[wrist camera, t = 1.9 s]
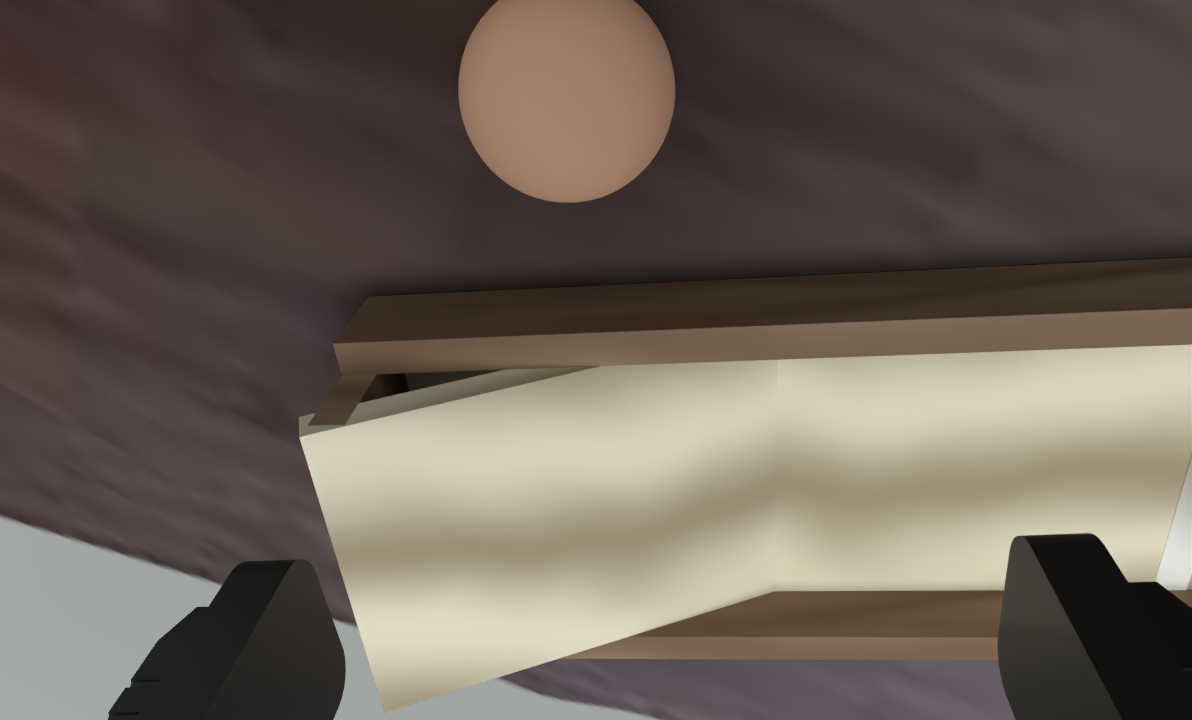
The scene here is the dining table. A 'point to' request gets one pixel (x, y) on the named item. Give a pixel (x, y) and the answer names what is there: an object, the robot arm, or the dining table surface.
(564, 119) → the ball
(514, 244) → the dining table surface
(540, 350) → the track
